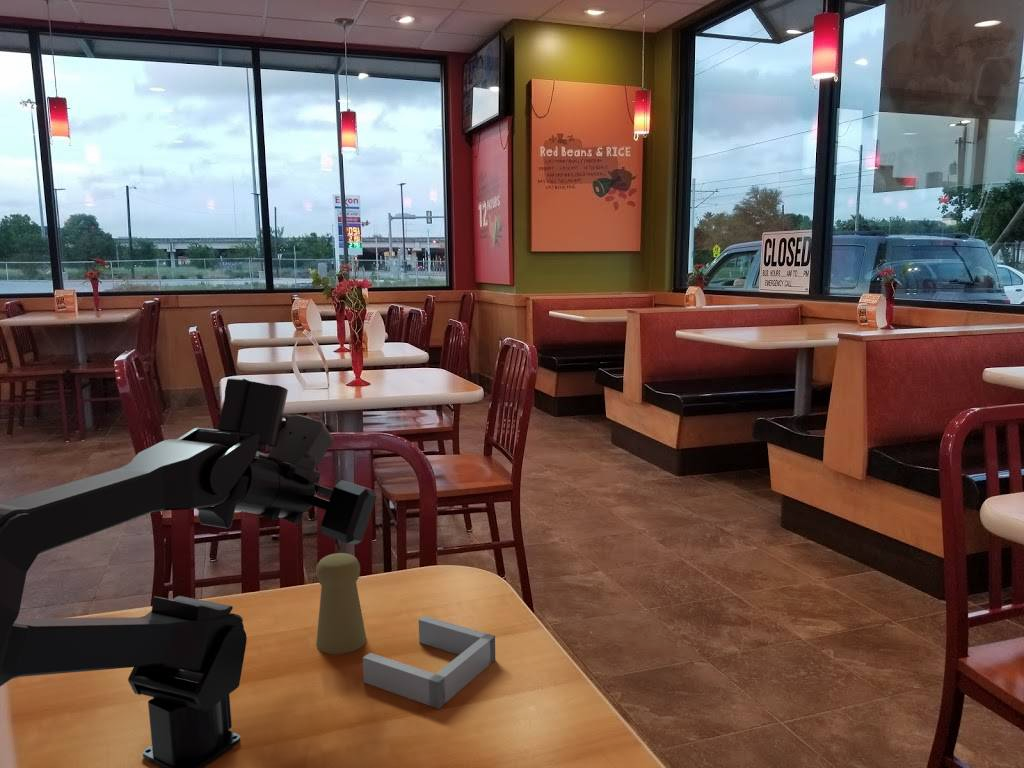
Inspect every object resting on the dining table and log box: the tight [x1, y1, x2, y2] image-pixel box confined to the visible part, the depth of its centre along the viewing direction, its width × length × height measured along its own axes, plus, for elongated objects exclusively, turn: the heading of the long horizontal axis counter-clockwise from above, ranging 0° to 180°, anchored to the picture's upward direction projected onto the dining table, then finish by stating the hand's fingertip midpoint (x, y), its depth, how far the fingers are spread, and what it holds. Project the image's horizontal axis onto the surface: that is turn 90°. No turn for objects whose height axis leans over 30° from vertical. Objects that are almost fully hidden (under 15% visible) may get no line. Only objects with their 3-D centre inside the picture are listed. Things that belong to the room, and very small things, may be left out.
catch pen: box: [362, 615, 496, 710], centre depth 88 cm, size 11×10×3 cm
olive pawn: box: [315, 552, 367, 655], centre depth 94 cm, size 6×6×11 cm
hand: (337, 502), depth 95 cm, fingers open, 9 cm apart
